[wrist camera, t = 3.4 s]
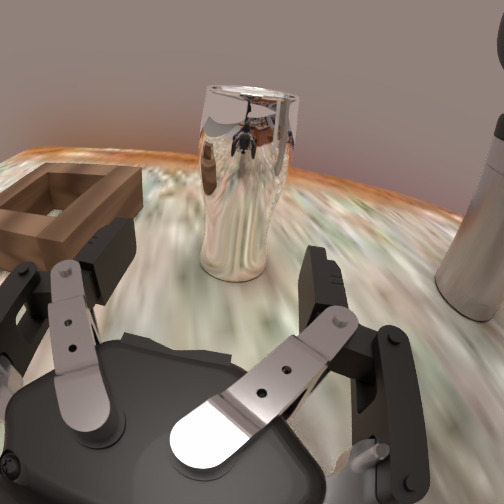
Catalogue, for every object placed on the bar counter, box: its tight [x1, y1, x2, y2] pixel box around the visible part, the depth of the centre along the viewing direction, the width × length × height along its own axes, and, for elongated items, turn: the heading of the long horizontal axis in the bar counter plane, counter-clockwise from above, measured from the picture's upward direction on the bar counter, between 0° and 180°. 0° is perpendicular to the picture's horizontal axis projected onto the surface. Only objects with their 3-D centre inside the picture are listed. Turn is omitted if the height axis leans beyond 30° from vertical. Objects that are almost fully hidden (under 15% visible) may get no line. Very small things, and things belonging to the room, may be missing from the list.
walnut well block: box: [0, 163, 143, 272], centre depth 26 cm, size 15×15×5 cm
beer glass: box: [199, 85, 300, 282], centre depth 23 cm, size 7×7×15 cm
